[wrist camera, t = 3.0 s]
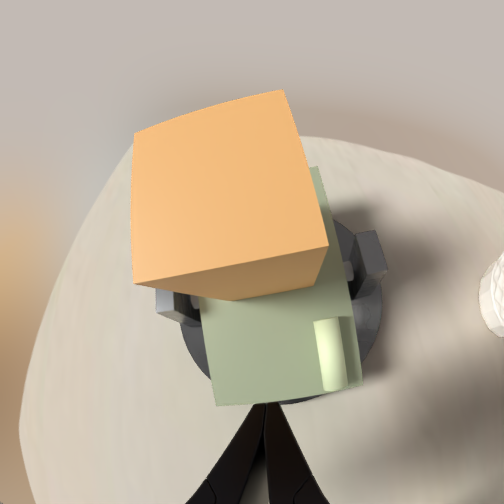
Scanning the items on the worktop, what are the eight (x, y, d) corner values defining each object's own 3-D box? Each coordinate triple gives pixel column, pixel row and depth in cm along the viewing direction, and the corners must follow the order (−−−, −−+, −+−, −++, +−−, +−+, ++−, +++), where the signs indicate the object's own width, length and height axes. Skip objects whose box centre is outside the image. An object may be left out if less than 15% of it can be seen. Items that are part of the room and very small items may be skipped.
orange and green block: (366, 378, 15) (445, 460, 4) (214, 401, 16) (114, 482, 6) (323, 173, 18) (332, 40, 8) (187, 204, 20) (91, 112, 9)
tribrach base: (395, 378, 16) (430, 380, 10) (193, 409, 18) (148, 419, 12) (349, 200, 23) (355, 147, 17) (183, 235, 25) (148, 195, 19)
